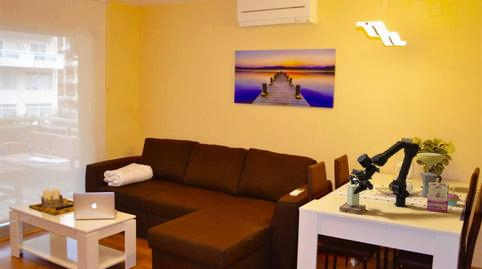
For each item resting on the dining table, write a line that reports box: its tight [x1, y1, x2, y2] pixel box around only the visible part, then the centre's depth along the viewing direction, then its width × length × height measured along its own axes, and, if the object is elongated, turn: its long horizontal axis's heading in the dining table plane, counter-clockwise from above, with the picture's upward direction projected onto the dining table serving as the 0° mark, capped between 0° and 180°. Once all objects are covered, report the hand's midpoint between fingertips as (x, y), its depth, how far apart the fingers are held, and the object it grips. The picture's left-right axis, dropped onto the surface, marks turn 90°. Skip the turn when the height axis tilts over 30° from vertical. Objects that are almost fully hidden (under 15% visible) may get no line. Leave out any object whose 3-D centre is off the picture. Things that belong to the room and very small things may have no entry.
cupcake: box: [448, 186, 460, 207], centre depth 273 cm, size 9×8×12 cm
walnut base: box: [339, 202, 367, 215], centre depth 260 cm, size 12×12×2 cm
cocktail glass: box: [416, 151, 445, 189], centre depth 318 cm, size 18×18×25 cm
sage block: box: [346, 184, 360, 205], centre depth 259 cm, size 5×5×11 cm
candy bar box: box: [426, 182, 450, 213], centre depth 259 cm, size 11×5×16 cm, turn 68°
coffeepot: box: [420, 169, 443, 199], centre depth 292 cm, size 15×9×18 cm, turn 33°
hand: (351, 193), depth 258 cm, fingers closed on sage block, 5 cm apart
